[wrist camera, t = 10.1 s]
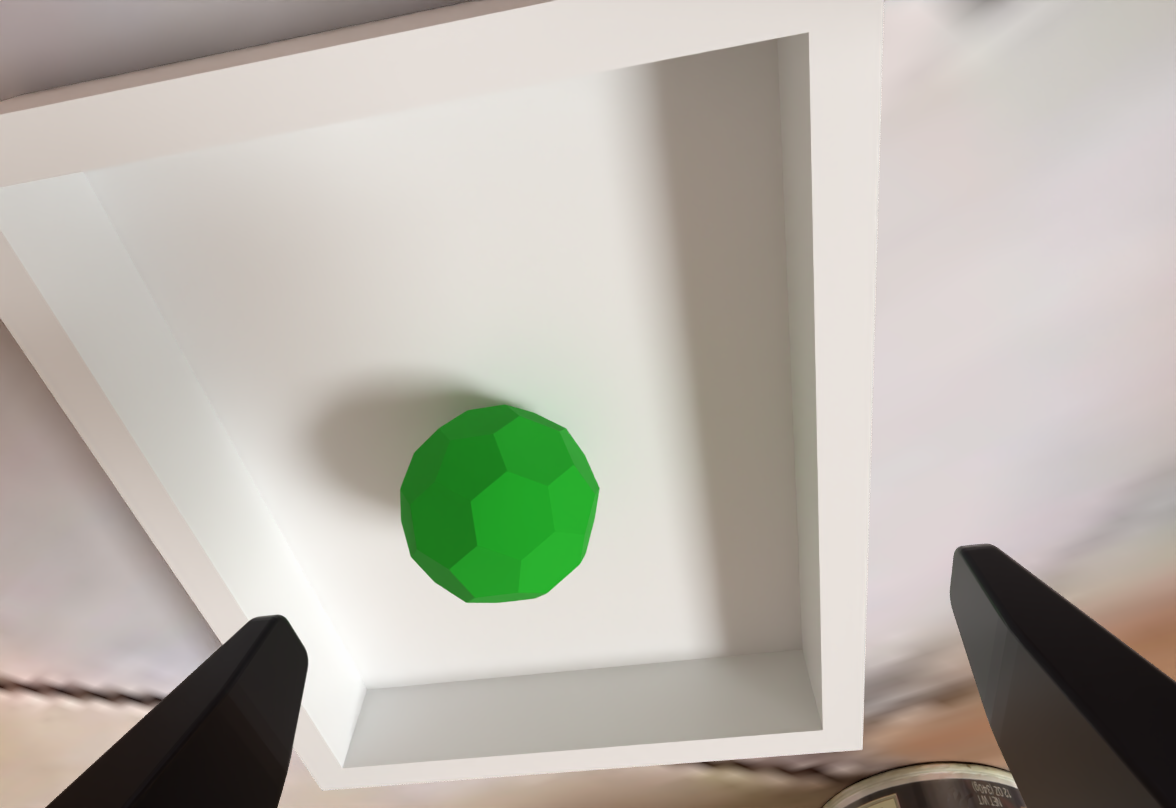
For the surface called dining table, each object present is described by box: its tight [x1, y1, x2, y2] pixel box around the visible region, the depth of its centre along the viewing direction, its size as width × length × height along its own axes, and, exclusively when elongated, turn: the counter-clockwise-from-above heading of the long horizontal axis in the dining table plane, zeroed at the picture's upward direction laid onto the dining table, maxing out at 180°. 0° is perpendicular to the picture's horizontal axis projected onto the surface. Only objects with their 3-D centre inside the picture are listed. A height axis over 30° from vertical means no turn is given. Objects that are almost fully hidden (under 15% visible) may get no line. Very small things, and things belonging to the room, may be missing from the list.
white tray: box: [0, 0, 884, 791], centre depth 20 cm, size 18×22×4 cm
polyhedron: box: [400, 404, 600, 603], centre depth 19 cm, size 5×5×5 cm
